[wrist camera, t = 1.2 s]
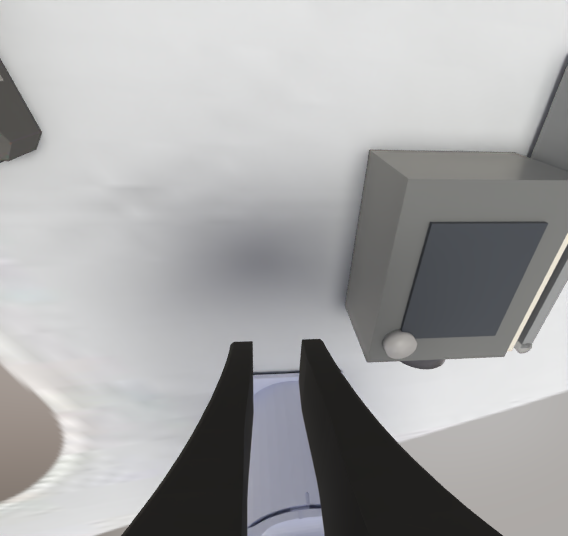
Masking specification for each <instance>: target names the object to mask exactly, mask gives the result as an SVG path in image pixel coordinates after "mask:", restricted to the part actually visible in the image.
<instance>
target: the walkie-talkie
mask: <svg viewBox="0 0 568 536" xmlns="http://www.w3.org/2000/svg"><path fill="white" fill-rule="evenodd" d="M41 134H42V132H41V130H40V128H39V126H38V124H37V123H36V121H35V119H34V117H33V116H32V114H31V112H30V110H29V109H28V107H27V105H26V103H25V101H24V100H23V98H22V96H21V94H20V93H19V91H18V89H17V87H16V86H15V84H14V82H13V80H12V78H11V77H10V75H9V73H8V71H7V70H6V68H5V66H4V64H3V63H2V61H1V59H0V163H1V162H3V161H10V160H12V159H15V158H17V157H19V156H22V155H24V154H26V153H29V152H31V151H33V150H36V149H37V146H38V143H39V140H40V137H41Z"/></svg>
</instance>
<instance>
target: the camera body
mask: <svg viewBox="0 0 568 536" xmlns="http://www.w3.org/2000/svg"><path fill="white" fill-rule="evenodd" d="M567 244H568V171H566V170H563V169H560V168H557V167H554V166H551V165H549V164H546V163H543V162H540V161H537V160H534V159H531V158H529V157H526V156H523V155H520V154H517V153H514V152H464V151H404V150H370V152H369V158H368V164H367V170H366V177H365V183H364V189H363V195H362V202H361V208H360V214H359V220H358V227H357V233H356V239H355V246H354V252H353V258H352V264H351V271H350V277H349V283H348V289H347V296H346V302H345V307H346V310H347V312H348V315H349V317H350V320H351V323H352V325H353V328H354V330H355V333H356V335H357V338H358V341H359V343H360V346H361V348H362V351H363V353H364V356H365V359H366V361H367V362H390V361H400V362H402V363H404V364H406V365H408V366H411V367H414V368H419V369H433V368H437V367H439V366H441V365H442V364H443V363H444V362H445V359H462V358H486V357H504V356H505V354H506V352H507V351H512V349H513V347H514V345H515V344H516V342H517V340H518V338H519V336H520V334H521V332H522V330H523V328H524V326H525V324H526V323H527V321H528V319H529V317H530V315H531V313H532V311H533V309H534V307H535V305H536V303H537V302H538V300H539V298H540V296H541V294H542V292H543V290H544V288H545V286H546V284H547V282H548V280H549V279H550V277H551V275H552V273H553V271H554V269H555V267H556V265H557V263H558V261H559V259H560V258H561V256H562V254H563V252H564V250H565V248H566V246H567Z"/></svg>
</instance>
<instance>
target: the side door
mask: <svg viewBox="0 0 568 536" xmlns="http://www.w3.org/2000/svg"><path fill="white" fill-rule="evenodd" d="M530 158H531V159H534V160H537V161H540V162H543V163H546V164H549V165H551V166H554V167H557V168H560V169H563V170H566V171H568V65H567V67H566V70H565V72H564V75H563V77H562V80H561V82H560V85H559V87H558V90H557V92H556V95H555V97H554V100H553V102H552V105H551V107H550V110H549V112H548V115H547V117H546V120H545V122H544V125H543V127H542V130H541V132H540V135H539V137H538V140H537V142H536V145H535V147H534V150H533V152H532V155H531V157H530ZM567 280H568V244H567V246H566V248H565V250H564V252H563V254H562V256H561V258H560V259H559V261H558V263H557V265H556V267H555V269H554V271H553V273H552V275H551V277H550V279H549V280H548V282H547V284H546V286H545V288H544V290H543V292H542V294H541V296H540V298H539V300H538V302H537V303H536V305H535V307H534V309H533V311H532V313H531V315H530V317H529V319H528V321H527V323H526V324H525V326H524V328H523V330H522V332H521V334H520V336H519V338H518V340H517V342H516V344H515V345H514V348H515V349H516V350H517V351H518V352H519V353H526V352H528V351H529V350H530V349H531V348H532V343H533V341H534V339H535V338H536V336H537V334H538V332H539V331H540V329H541V327H542V325H543V323H544V322H545V320H546V318H547V316H548V314H549V313H550V311H551V309H552V307H553V305H554V304H555V302H556V300H557V298H558V296H559V295H560V293H561V291H562V289H563V287H564V286H565V284H566V282H567Z"/></svg>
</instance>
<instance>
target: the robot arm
mask: <svg viewBox="0 0 568 536" xmlns="http://www.w3.org/2000/svg"><path fill="white" fill-rule="evenodd" d="M121 536H503V535H501V534H500V533H499V532H497V531H496V530H495V529H493V528H492V527H491V526H490V525H488V524H487V523H486V522H485V521H483V520H482V519H481V518H480V517H478V516H477V515H476V514H474V513H473V512H472V511H471V510H470V509H468V508H467V507H466V506H465V505H463V504H462V503H461V502H460V501H459V500H458V499H457V498H456V497H454V496H453V495H452V494H451V493H450V492H449V491H447V490H446V489H445V488H444V487H443V486H441V484H440V483H438V482H437V481H436V480H435V479H434V478H433V477H432V476H431V475H430V474H429V473H428V472H427V471H426V470H424V468H422V467H421V466H420V465H419V464H418V463H417V462H416V461H415V460H414V459H413V458H412V457H411V456H410V455H409V454H408V453H407V452H406V451H405V450H404V449H403V448H402V447H401V446H400V445H399V444H398V443H397V442H396V441H395V439H394V438H393V437H392V436H391V435H390V434H389V433H388V432H387V431H386V430H385V428H384V427H383V426H382V425H381V424H380V423H379V421H378V420H377V419H376V418H375V417H374V416H373V414H372V413H371V412H370V411H369V409H368V408H367V407H366V406H365V404H364V403H363V402H362V400H361V399H360V398H359V396H358V395H357V394H356V392H355V391H354V390H353V388H352V387H351V385H350V384H349V383H348V381H347V380H346V378H345V377H344V374H343V373H342V372H341V371H340V369H339V368H338V366H337V365H336V363H335V362H334V360H333V358H332V357H331V355H330V353H329V352H328V350H327V348H326V347H325V345H324V343H323V341H322V340H321V339H308V340H302V346H301V358H300V370H299V373H288V374H265V375H253V344H252V341H250V342H233V343H232V344H231V345H230V350H229V354H228V358H227V361H226V364H225V367H224V369H223V372H222V374H221V377H220V379H219V382H218V384H217V386H216V389H215V391H214V393H213V395H212V397H211V400H210V402H209V404H208V406H207V407H206V409H205V411H204V413H203V415H202V417H201V419H200V421H199V423H198V425H197V427H196V428H195V430H194V432H193V434H192V435H191V437H190V439H189V441H188V442H187V444H186V446H185V447H184V449H183V450H182V452H181V454H180V455H179V457H178V458H177V460H176V461H175V463H174V464H173V466H172V467H171V469H170V470H169V472H168V473H167V475H166V477H165V478H164V479H163V481H162V482H161V484H160V485H159V487H158V488H157V489H156V491H155V492H154V494H153V495H152V496H151V498H150V499H149V500H148V501H147V503H146V504H145V505H144V507H143V508H142V509H141V511H140V512H139V513H138V515H137V516H136V517H135V519H134V520H133V521H132V523H131V524H130V525H129V527H128V528H127V529H126V530H125V532H124V533H123V534H122V535H121Z"/></svg>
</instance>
